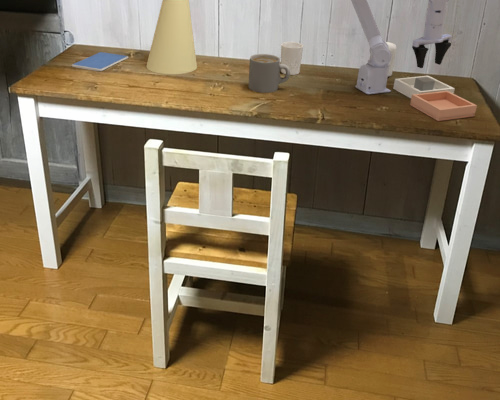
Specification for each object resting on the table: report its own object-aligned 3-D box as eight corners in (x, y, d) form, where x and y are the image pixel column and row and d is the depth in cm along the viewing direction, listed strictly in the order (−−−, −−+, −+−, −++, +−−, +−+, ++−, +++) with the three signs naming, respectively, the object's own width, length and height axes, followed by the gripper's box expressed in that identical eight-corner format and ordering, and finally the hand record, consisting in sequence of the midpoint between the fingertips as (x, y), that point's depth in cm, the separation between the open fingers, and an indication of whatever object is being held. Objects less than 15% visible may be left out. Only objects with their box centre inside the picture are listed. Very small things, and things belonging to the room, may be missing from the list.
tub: (418, 102, 184) (420, 92, 182) (393, 88, 195) (394, 78, 193) (452, 98, 189) (454, 88, 187) (426, 85, 200) (428, 75, 198)
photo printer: (385, 72, 210) (390, 39, 204) (393, 76, 207) (399, 42, 201) (364, 76, 205) (370, 42, 199) (373, 80, 202) (378, 45, 196)
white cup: (277, 68, 209) (279, 41, 204) (298, 69, 210) (301, 42, 205) (280, 75, 202) (282, 47, 197) (302, 75, 203) (305, 48, 198)
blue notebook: (100, 54, 217) (100, 51, 216) (129, 58, 213) (129, 55, 213) (70, 68, 201) (70, 64, 200) (101, 73, 197) (101, 69, 197)
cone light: (190, 76, 197) (189, -31, 179) (139, 71, 199) (133, -35, 181) (205, 56, 218) (205, -41, 200) (158, 52, 220) (155, -45, 202)
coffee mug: (244, 90, 187) (246, 60, 182) (253, 81, 195) (254, 52, 190) (284, 95, 184) (286, 65, 179) (290, 86, 192) (293, 57, 187)
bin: (438, 121, 170) (440, 110, 169) (410, 104, 182) (412, 94, 180) (474, 116, 175) (477, 105, 174) (444, 100, 186) (447, 90, 185)
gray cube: (421, 93, 189) (424, 81, 187) (413, 89, 192) (415, 77, 190) (432, 92, 190) (435, 80, 188) (424, 87, 194) (426, 76, 192)
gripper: (425, 29, 175) (419, 72, 181) (460, 23, 180) (454, 65, 187) (410, 24, 180) (405, 66, 187) (445, 19, 185) (439, 60, 192)
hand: (428, 65), depth 187 cm, fingers open, 7 cm apart
